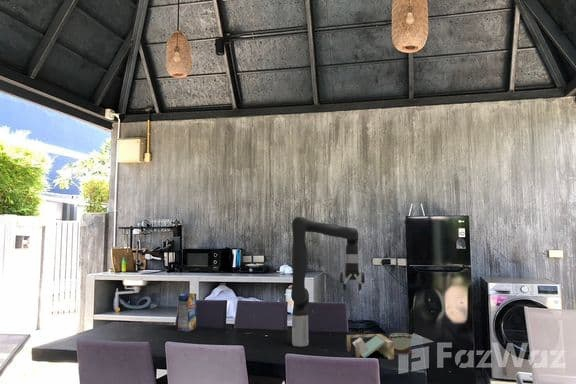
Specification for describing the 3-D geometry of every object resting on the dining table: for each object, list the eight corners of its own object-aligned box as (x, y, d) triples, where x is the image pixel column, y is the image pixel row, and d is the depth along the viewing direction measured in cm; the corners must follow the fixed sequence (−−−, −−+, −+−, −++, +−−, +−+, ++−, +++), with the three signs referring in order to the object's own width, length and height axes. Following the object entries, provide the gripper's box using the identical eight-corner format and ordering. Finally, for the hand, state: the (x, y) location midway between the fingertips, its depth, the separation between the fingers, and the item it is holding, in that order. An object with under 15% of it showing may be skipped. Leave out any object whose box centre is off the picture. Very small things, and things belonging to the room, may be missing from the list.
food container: (409, 351, 236) (408, 332, 237) (412, 354, 230) (411, 334, 231) (386, 351, 236) (386, 332, 237) (390, 354, 230) (389, 335, 231)
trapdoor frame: (356, 360, 218) (356, 343, 219) (346, 350, 238) (346, 334, 239) (394, 359, 220) (393, 342, 221) (381, 349, 240) (380, 333, 241)
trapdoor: (364, 358, 221) (363, 357, 221) (356, 351, 235) (355, 350, 235) (385, 342, 224) (384, 341, 224) (377, 336, 237) (376, 335, 238)
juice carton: (186, 327, 304) (187, 293, 307) (195, 328, 303) (196, 293, 305) (177, 331, 293) (178, 295, 296) (187, 331, 291) (188, 295, 294)
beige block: (360, 354, 226) (354, 344, 226) (358, 352, 231) (352, 342, 231) (368, 348, 227) (362, 339, 227) (365, 346, 232) (359, 337, 232)
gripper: (341, 262, 245) (341, 291, 243) (365, 262, 246) (365, 291, 244) (338, 261, 252) (338, 289, 250) (362, 261, 253) (362, 289, 251)
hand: (352, 290), depth 247 cm, fingers open, 8 cm apart
